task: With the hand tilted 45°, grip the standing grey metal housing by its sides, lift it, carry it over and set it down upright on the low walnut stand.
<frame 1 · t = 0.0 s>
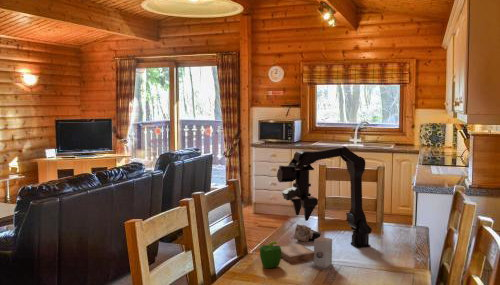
hand: (301, 217, 205), 15 cm above the table, tool pointing down, fingers open, 9 cm apart
bell pepper: (270, 267, 189), on the table
housing: (322, 267, 189), on the table
stand: (295, 256, 201), on the table
grey brown rock: (307, 239, 225), on the table
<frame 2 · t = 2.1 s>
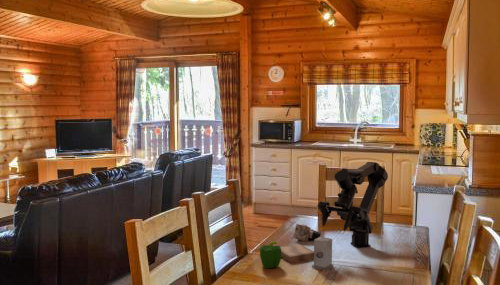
hand: (333, 228, 194), 13 cm above the table, tool tilted 45°, fingers open, 9 cm apart
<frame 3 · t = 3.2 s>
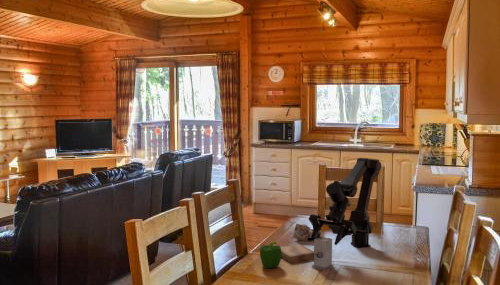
hand: (324, 242, 188), 9 cm above the table, tool tilted 45°, fingers open, 9 cm apart
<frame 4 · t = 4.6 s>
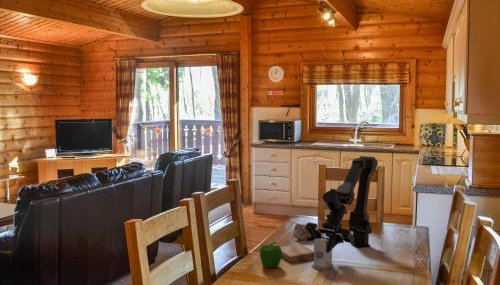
hand: (321, 251, 187), 7 cm above the table, tool tilted 45°, fingers closed on housing, 5 cm apart
housing: (322, 267, 189), on the table, touching gripper
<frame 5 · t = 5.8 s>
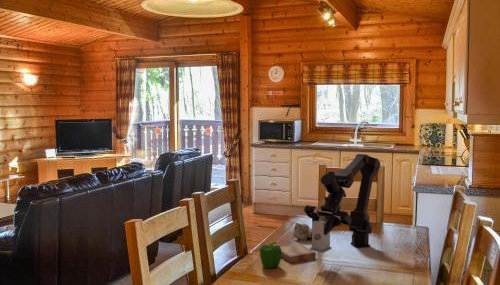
hand: (319, 233, 187), 13 cm above the table, tool tilted 45°, fingers closed on housing, 5 cm apart
housing: (320, 249, 189), point 7 cm above the table, touching gripper
when the fingers open (10 cm above the table, at t = 7.6 s): housing drops 1 cm, resting on stand.
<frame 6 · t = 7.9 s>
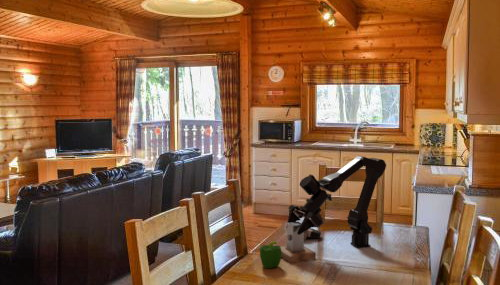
hand: (292, 231, 200), 11 cm above the table, tool tilted 45°, fingers open, 9 cm apart
housing: (295, 249, 201), point 3 cm above the table, touching stand
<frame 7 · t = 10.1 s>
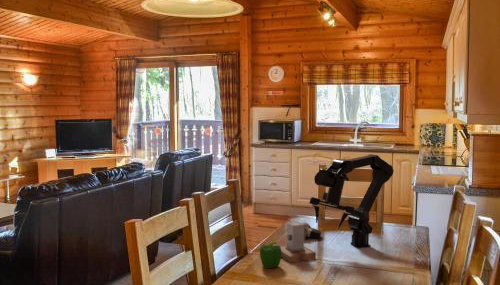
hand: (327, 225, 205), 12 cm above the table, tool tilted 15°, fingers open, 9 cm apart
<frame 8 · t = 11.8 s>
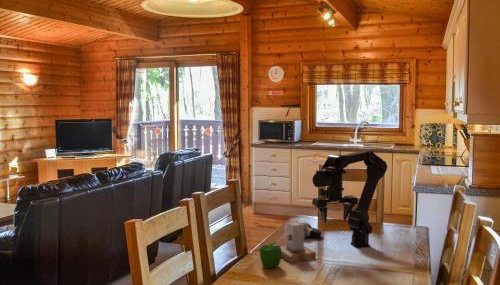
hand: (334, 221, 206), 13 cm above the table, tool pointing down, fingers open, 9 cm apart
at the end: housing inside the target area on the stand (0.0 cm from its centre), point 2.6 cm above the stand's base; housing tilted 0°; the gripper is holding nothing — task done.
